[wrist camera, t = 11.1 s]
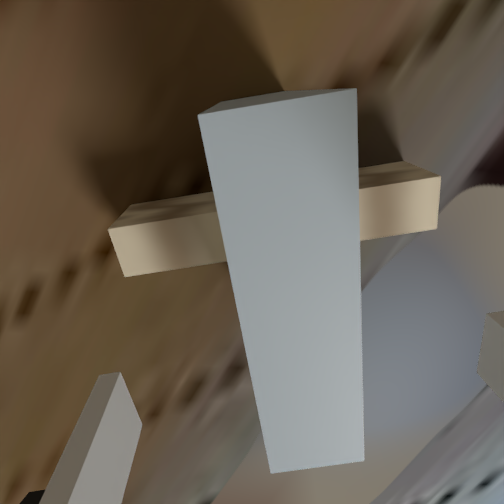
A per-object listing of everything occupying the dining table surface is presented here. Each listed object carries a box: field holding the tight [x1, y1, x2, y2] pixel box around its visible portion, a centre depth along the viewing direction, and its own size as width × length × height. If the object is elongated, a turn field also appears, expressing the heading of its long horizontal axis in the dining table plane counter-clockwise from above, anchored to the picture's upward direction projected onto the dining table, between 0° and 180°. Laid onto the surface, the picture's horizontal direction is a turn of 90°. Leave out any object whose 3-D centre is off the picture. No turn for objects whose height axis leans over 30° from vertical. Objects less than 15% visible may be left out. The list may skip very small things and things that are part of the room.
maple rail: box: [108, 161, 441, 277], centre depth 28 cm, size 24×4×6 cm, turn 99°
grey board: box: [198, 88, 364, 473], centre depth 23 cm, size 18×5×18 cm, turn 9°
